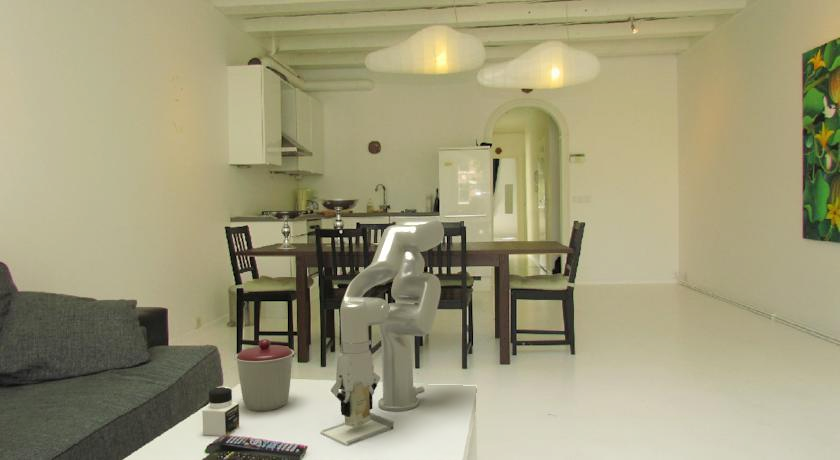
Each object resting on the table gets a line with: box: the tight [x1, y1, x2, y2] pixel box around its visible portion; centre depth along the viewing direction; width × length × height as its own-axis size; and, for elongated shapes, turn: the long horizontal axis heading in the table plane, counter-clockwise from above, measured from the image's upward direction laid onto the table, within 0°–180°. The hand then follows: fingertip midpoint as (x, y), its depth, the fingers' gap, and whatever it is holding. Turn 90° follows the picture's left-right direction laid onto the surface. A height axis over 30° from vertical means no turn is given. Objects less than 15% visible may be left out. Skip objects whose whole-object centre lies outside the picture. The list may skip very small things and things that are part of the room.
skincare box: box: [344, 381, 371, 428], centre depth 153 cm, size 6×4×12 cm
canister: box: [234, 338, 295, 412], centre depth 176 cm, size 18×18×21 cm
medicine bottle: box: [201, 386, 240, 437], centre depth 155 cm, size 7×7×12 cm
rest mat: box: [319, 412, 395, 447], centre depth 153 cm, size 16×12×2 cm
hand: (357, 411), depth 153 cm, fingers closed on skincare box, 6 cm apart
